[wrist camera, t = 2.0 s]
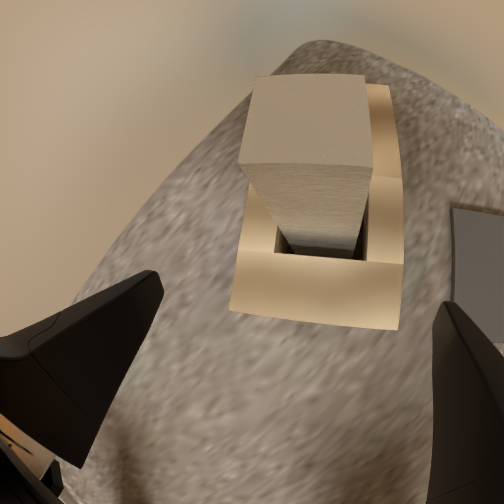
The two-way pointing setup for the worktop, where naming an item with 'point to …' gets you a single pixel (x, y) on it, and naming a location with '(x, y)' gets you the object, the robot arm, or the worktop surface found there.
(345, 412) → the worktop surface
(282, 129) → the steel bar
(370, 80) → the worktop surface
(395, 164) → the wooden block with hole
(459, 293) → the rubber mat
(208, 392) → the worktop surface
